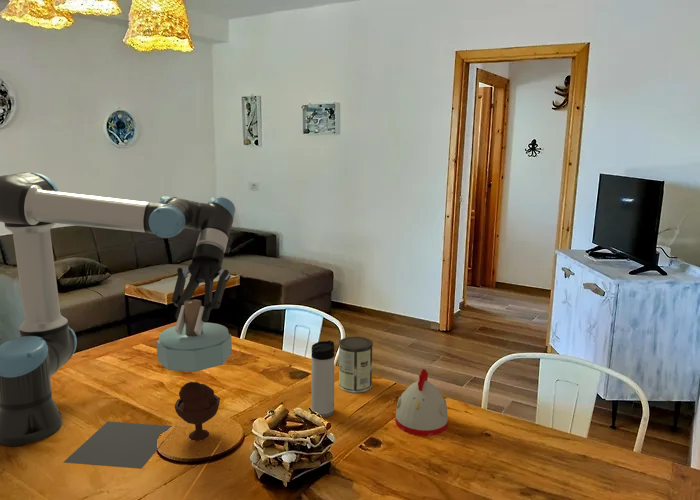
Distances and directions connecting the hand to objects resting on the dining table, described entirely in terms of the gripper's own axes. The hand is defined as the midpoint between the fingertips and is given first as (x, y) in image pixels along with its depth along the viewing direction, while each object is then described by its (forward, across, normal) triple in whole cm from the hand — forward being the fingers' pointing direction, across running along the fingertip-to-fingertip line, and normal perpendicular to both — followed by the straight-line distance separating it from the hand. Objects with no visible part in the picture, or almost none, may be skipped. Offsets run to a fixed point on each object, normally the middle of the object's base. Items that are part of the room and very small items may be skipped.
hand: (187, 332), depth 131 cm
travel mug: (+6, -29, -36) cm, 46 cm away
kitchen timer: (+8, -56, -34) cm, 66 cm away
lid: (+3, 0, -8) cm, 9 cm away
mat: (+22, +17, -19) cm, 34 cm away
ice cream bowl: (+18, 0, -23) cm, 30 cm away
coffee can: (-7, -36, -48) cm, 61 cm away
